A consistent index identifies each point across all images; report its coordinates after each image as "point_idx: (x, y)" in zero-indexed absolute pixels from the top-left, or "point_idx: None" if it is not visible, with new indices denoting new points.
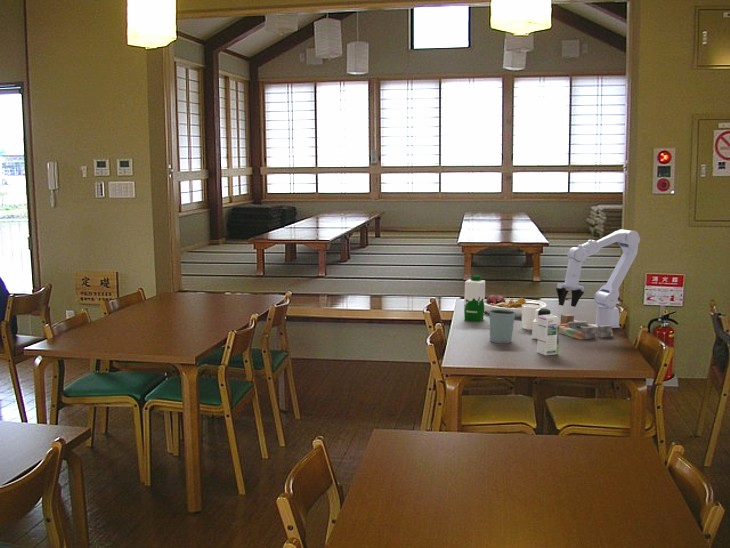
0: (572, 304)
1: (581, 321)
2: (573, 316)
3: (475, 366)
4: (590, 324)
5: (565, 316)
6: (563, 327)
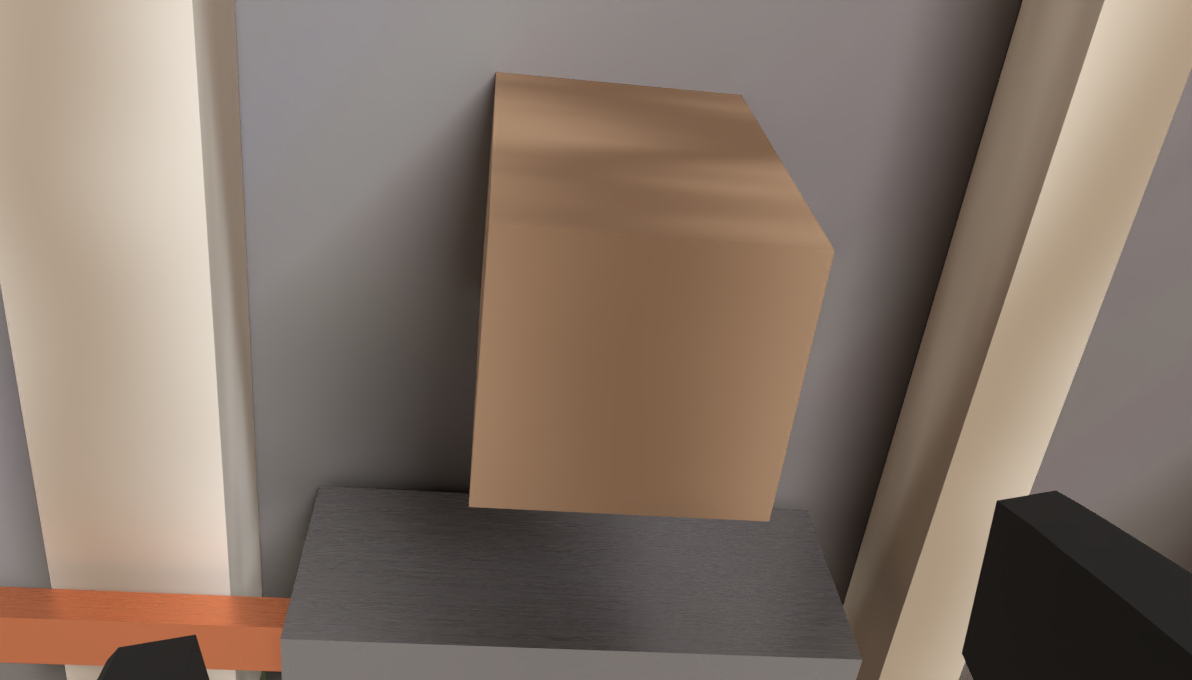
0: (1024, 609)
1: (708, 677)
2: (741, 501)
3: None
4: None
5: (474, 443)
6: None
